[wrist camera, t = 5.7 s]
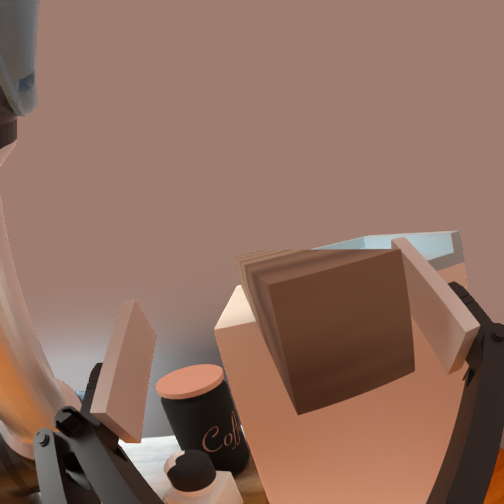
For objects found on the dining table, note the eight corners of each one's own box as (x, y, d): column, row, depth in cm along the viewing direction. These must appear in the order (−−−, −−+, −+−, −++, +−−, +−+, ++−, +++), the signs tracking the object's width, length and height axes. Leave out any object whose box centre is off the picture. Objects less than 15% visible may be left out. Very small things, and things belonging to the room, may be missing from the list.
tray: (464, 261, 20) (459, 230, 20) (327, 303, 20) (320, 268, 20) (370, 252, 43) (367, 235, 43) (292, 271, 43) (288, 254, 43)
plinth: (458, 501, 20) (480, 259, 19) (280, 559, 20) (197, 336, 20) (395, 417, 44) (376, 250, 43) (274, 450, 44) (230, 286, 44)
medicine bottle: (244, 501, 33) (221, 444, 32) (229, 535, 26) (199, 481, 25) (200, 496, 35) (173, 441, 34) (181, 527, 28) (147, 472, 27)
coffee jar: (223, 491, 35) (184, 400, 35) (179, 470, 42) (142, 386, 42) (263, 454, 44) (237, 366, 43) (219, 441, 50) (191, 361, 50)
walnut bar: (415, 371, 8) (400, 248, 8) (297, 415, 8) (267, 284, 8) (271, 279, 40) (264, 250, 40) (241, 287, 40) (234, 257, 40)
